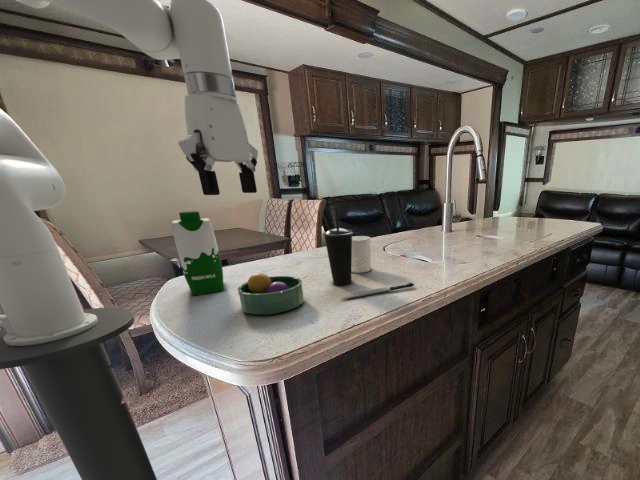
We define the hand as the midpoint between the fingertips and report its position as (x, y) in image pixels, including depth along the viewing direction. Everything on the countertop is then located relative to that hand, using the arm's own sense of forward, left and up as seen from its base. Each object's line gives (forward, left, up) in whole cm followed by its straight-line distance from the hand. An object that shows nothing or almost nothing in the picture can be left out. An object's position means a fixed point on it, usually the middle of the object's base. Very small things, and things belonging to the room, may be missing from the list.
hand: (232, 193), depth 62 cm
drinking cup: (+20, +14, -24) cm, 35 cm away
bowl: (+4, +1, -24) cm, 25 cm away
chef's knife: (+28, +4, -24) cm, 38 cm away
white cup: (+26, +26, -24) cm, 44 cm away
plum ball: (+5, +1, -21) cm, 22 cm away
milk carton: (-15, +18, -24) cm, 34 cm away
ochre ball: (+1, +3, -20) cm, 20 cm away
